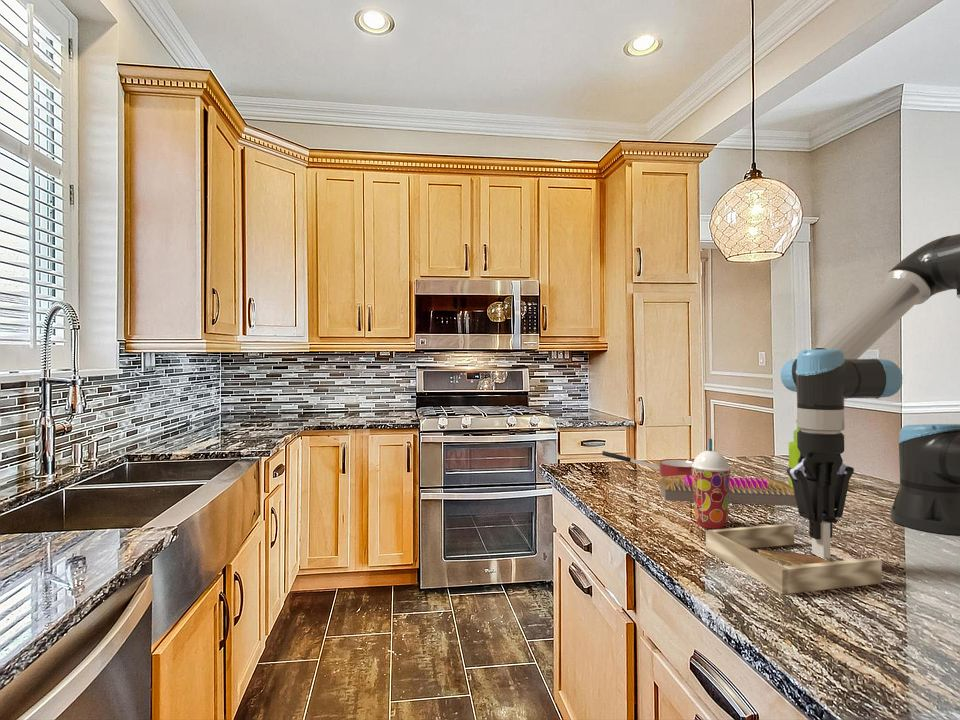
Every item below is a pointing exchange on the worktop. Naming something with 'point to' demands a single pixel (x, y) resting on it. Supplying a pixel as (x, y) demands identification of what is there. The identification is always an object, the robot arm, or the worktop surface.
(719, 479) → the smoothie
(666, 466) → the frying pan
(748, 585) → the worktop surface
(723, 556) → the box
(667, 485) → the pink bristle brush
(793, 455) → the soap dispenser
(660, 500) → the worktop surface
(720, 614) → the worktop surface
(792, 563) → the shard
